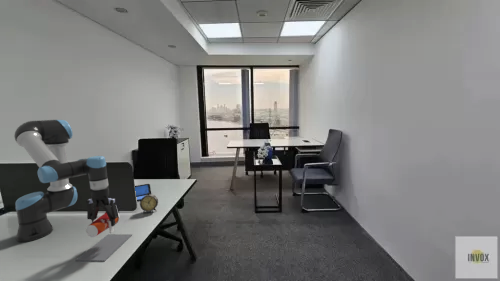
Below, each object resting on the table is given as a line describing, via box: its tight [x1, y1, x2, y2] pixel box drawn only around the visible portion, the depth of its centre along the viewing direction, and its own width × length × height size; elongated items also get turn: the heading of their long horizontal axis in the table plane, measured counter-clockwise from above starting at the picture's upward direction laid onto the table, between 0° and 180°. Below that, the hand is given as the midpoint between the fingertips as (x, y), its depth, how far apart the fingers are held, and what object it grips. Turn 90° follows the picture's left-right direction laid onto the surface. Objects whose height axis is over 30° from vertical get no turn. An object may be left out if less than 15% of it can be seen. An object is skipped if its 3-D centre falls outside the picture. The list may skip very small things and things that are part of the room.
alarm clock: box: [139, 189, 159, 213], centre depth 154 cm, size 11×5×16 cm, turn 98°
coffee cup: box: [85, 211, 120, 238], centre depth 113 cm, size 8×8×15 cm
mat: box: [75, 233, 133, 262], centre depth 115 cm, size 14×22×1 cm, turn 177°
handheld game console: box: [134, 183, 152, 202], centre depth 180 cm, size 16×13×9 cm
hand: (104, 231), depth 114 cm, fingers closed on coffee cup, 7 cm apart
